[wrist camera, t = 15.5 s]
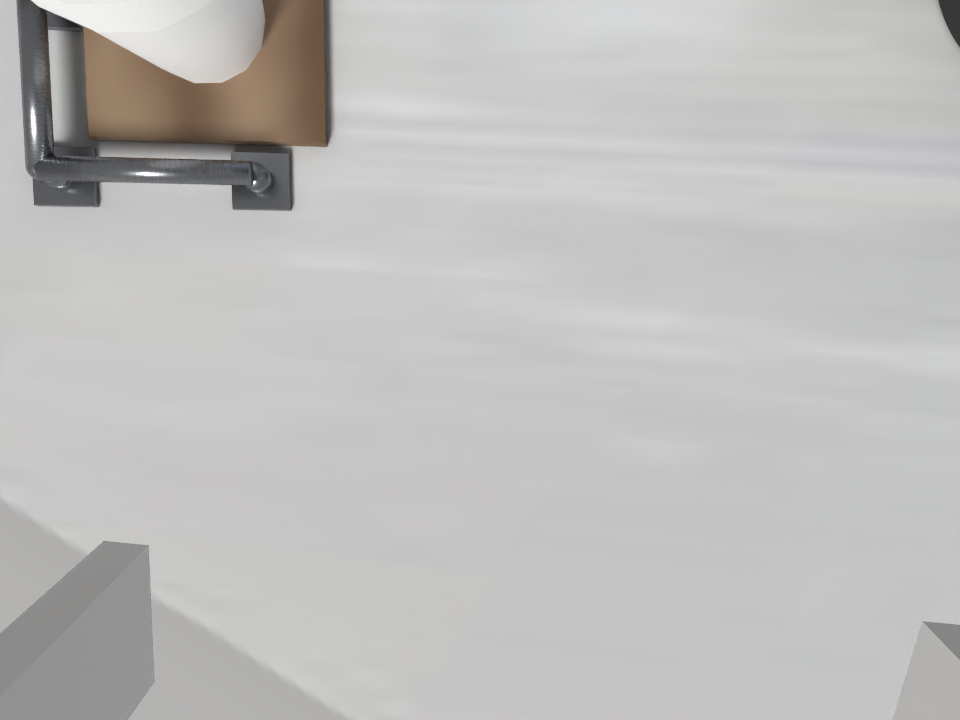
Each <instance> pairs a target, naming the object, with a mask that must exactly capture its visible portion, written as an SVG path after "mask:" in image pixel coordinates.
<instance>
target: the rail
mask: <svg viewBox="0 0 960 720" xmlns="http://www.w3.org/2000/svg"><path fill="white" fill-rule="evenodd" d="M17 17H18V35H19V54H20V72H21V90H22V108H23V127H24V145H25V163H26V170H27V172H28V174H29V175H30V176H31V177H33V192H34V205H36V206H64V207H99V206H98V184H97V182H123V183H166V184H210V185H232V204H233V209H234V210H274V211H291V189H290V155H289V153H256V152H231V160H198V159H161V158H125V157H96V149H94V148H81V147H54V140H53V120H52V100H51V81H50V61H49V42H48V30H65V31H83V26H82V25H80V24H77V23H75V22H73V21H70V20H68V19H66V18H64V17H61V16H59V15H57V14H54V13H52V12H50V11H48V10H45V9H43V8H41V7H39V6H37V5H36V4H35V3H34V2H32V1H31V0H17Z"/></svg>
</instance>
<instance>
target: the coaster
mask: <svg viewBox="0 0 960 720" xmlns="http://www.w3.org/2000/svg"><path fill="white" fill-rule="evenodd" d="M262 2H263V8H264V14H265V27H264V34H263V42H262V48H261V49H260V51H259V52H258V54H257V55H256V57H255V58H254V60H253V61H252V63H251V64H250V65H249V67H248V68H247V70H245V71H243V72H242V73H240V74H238V75H236V76H234V77H232V78H230V79H228V80H226V81H225V82H223V83H193V82H190V81H188V80H186V79H183V78H181V77H179V76H177V75H174V74H172V73H170V72H168V71H166V70H163V69H161V68H160V67H158V66H156V65H154V64H152V63H151V62H149V61H147V60H145V59H143V58H142V57H140V56H138V55H136V54H134V53H133V52H131V51H129V50H127V49H125V48H124V47H122V46H120V45H118V44H116V43H115V42H113V41H111V40H109V39H107V38H106V37H104V36H102V35H100V34H98V33H97V32H95V31H93V30H91V29H89V28H87V27H84V26H83V32H84V54H85V75H86V97H87V118H88V136H89V137H91V138H93V139H95V140H117V141H150V142H184V143H217V144H251V145H284V146H318V147H327V117H326V54H325V0H262Z"/></svg>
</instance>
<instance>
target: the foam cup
mask: <svg viewBox="0 0 960 720" xmlns="http://www.w3.org/2000/svg"><path fill="white" fill-rule="evenodd" d="M31 1H32V2H34V3H35V4H36V5H37V6H39V7H41V8H43V9H45V10H48V11H50V12H52V13H54V14H57V15H59V16H61V17H64V18H66V19H68V20H70V21H73V22H75V23H77V24H80V25H82V26H84V27H87V28H89V29H91V30H93V31H95V32H97V33H98V34H100V35H102V36H104V37H106V38H107V39H109V40H111V41H113V42H115V43H116V44H118V45H120V46H122V47H124V48H125V49H127V50H129V51H131V52H133V53H134V54H136V55H138V56H140V57H142V58H143V59H145V60H147V61H149V62H151V63H152V64H154V65H156V66H158V67H160V68H161V69H163V70H166V71H168V72H170V73H172V74H174V75H177V76H179V77H181V78H183V79H186V80H188V81H190V82H193V83H223V82H225V81H226V80H228V79H230V78H232V77H234V76H236V75H238V74H240V73H242V72H243V71H245V70H247V68H248V67H249V65H250V64H251V63H252V61H253V60H254V58H255V57H256V55H257V54H258V52H259V51H260V49H261V48H262V42H263V34H264V27H265V14H264V8H263V2H262V0H31Z"/></svg>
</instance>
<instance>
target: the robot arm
mask: <svg viewBox="0 0 960 720" xmlns="http://www.w3.org/2000/svg"><path fill="white" fill-rule="evenodd" d="M939 3H940V7H941V10H942V13H943V16H944V19H945V21H946V24H947V26H948V28H949V30H950V32H951V34H952V36H953V37H954V39H955V41H956V42H957V44H958V45H959V47H960V0H939ZM153 683H154V661H153V638H152V614H151V590H150V567H149V545H139V544H129V543H119V542H108V541H103V542H102V543H101V544H100V545H99V546H98V547H97V548H96V549H94V550H93V551H92V552H91V553H90V554H89V555H88V556H87V557H85V558H84V559H83V560H82V561H81V562H80V563H79V564H78V565H76V566H75V567H74V568H73V569H72V570H71V571H70V572H69V573H68V574H66V575H65V576H64V577H63V578H62V579H61V580H60V581H59V582H58V583H56V584H55V585H54V586H53V587H52V588H51V589H50V590H49V591H47V592H46V593H45V594H44V595H43V596H42V597H41V598H39V599H38V600H37V601H36V602H35V603H34V604H33V605H32V606H30V607H29V608H28V609H27V610H26V611H25V612H24V613H23V614H21V615H20V616H19V617H18V618H17V619H16V620H15V621H14V622H12V623H11V624H10V625H9V626H8V627H7V628H6V629H5V630H4V631H2V632H1V633H0V720H128V718H129V717H130V716H131V714H132V712H133V711H134V710H135V709H136V707H137V706H138V704H139V703H140V701H141V700H142V699H143V697H144V696H145V694H146V693H147V691H148V690H149V688H150V687H151V686H152V684H153ZM893 720H960V625H954V624H944V623H934V622H923V621H922V624H921V627H920V630H919V634H918V637H917V640H916V644H915V647H914V650H913V654H912V657H911V660H910V664H909V667H908V670H907V674H906V677H905V680H904V684H903V687H902V690H901V694H900V697H899V700H898V704H897V707H896V710H895V714H894V717H893Z"/></svg>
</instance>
